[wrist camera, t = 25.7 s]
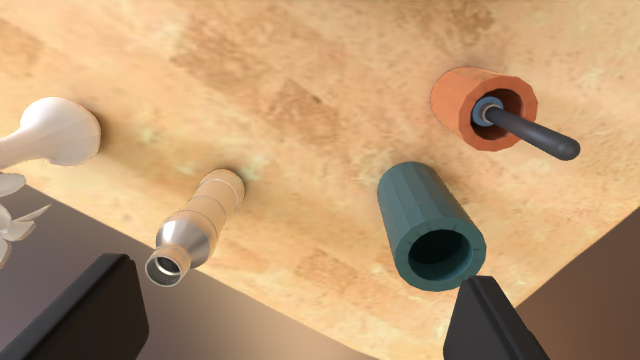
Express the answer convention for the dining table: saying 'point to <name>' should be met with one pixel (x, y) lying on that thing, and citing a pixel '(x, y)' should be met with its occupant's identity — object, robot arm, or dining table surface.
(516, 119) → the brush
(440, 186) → the teal hollow cylinder
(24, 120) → the flower vase
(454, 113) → the crock
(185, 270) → the metal bottle
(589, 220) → the dining table surface
